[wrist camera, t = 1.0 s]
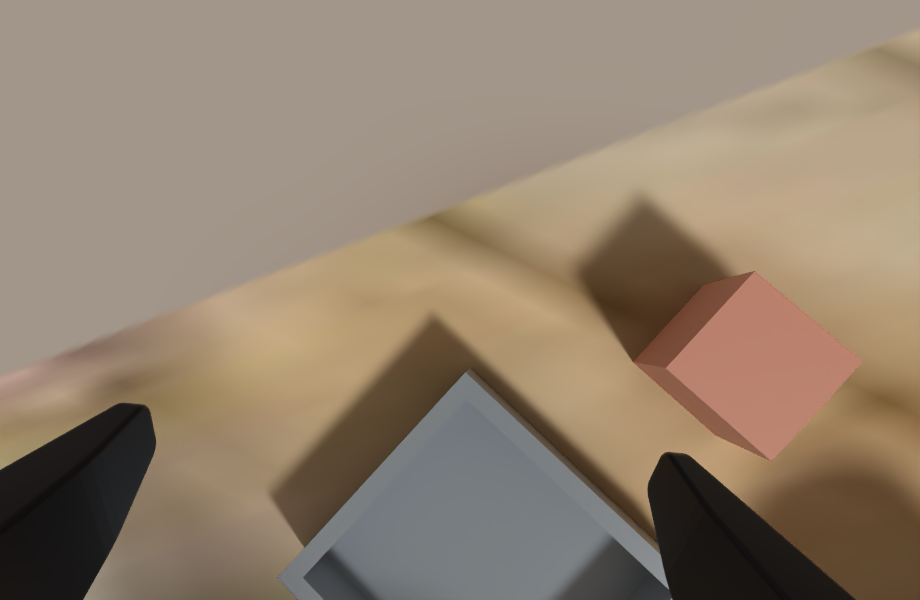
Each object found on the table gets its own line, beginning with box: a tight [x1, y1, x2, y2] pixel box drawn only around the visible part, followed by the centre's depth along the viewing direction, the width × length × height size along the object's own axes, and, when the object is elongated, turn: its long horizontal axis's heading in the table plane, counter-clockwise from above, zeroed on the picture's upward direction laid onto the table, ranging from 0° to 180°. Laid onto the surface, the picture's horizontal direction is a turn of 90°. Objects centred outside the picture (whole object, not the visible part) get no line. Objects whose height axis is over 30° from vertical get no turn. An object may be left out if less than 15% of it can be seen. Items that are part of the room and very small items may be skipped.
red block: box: [633, 271, 863, 461], centre depth 21 cm, size 5×5×5 cm
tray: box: [278, 368, 672, 600], centre depth 23 cm, size 13×12×3 cm
